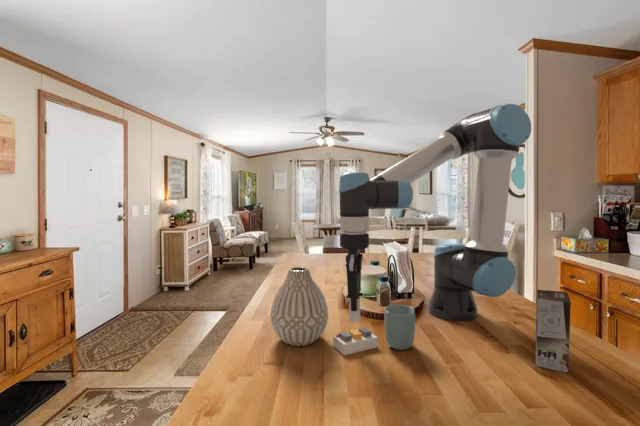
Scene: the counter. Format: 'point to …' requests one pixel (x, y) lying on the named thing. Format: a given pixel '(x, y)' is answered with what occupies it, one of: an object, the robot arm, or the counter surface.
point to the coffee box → (552, 329)
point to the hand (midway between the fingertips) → (354, 321)
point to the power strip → (355, 341)
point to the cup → (399, 326)
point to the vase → (299, 309)
